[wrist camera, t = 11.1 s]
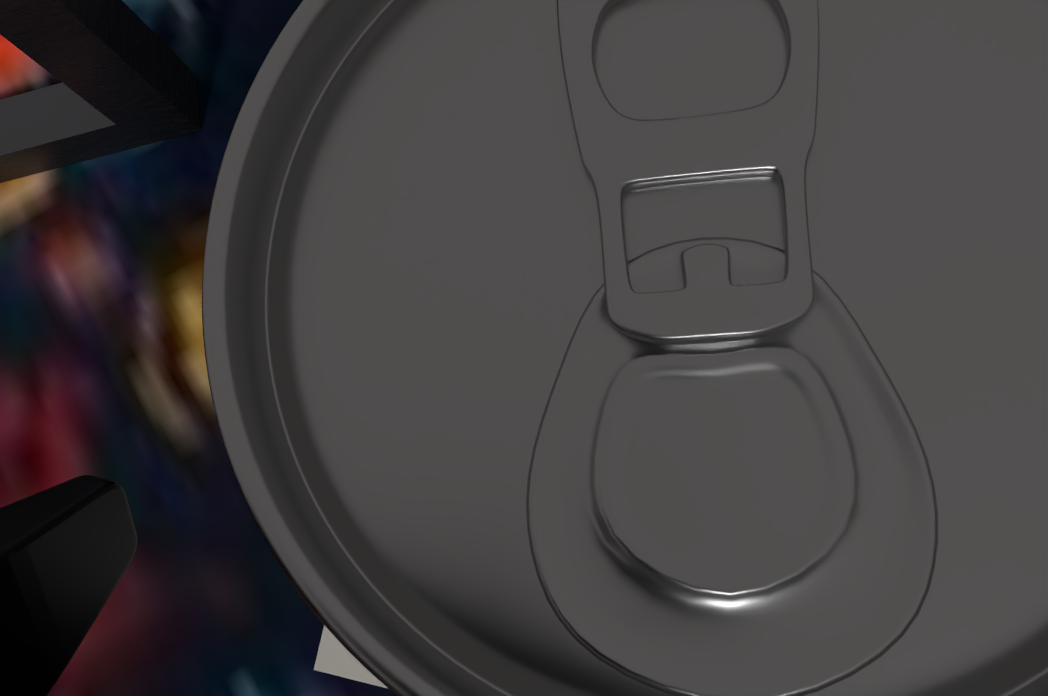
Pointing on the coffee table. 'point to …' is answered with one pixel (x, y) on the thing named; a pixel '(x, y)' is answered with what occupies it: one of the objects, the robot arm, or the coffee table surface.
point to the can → (647, 341)
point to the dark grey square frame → (90, 85)
